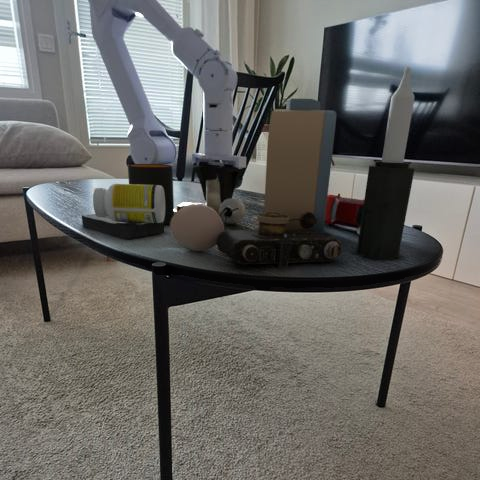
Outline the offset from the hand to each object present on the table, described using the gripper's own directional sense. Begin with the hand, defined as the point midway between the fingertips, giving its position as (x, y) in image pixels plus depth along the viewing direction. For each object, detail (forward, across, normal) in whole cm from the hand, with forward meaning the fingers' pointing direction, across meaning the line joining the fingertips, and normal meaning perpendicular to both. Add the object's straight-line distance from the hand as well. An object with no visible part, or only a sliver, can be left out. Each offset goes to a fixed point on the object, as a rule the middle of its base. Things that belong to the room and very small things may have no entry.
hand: (217, 201), depth 88 cm
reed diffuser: (+3, +11, -8) cm, 14 cm away
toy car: (0, +23, +16) cm, 28 cm away
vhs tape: (+3, -1, -22) cm, 22 cm away
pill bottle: (-2, +8, -18) cm, 20 cm away
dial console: (+3, -1, -1) cm, 4 cm away
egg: (0, +24, -20) cm, 31 cm away
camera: (0, +27, -13) cm, 30 cm away
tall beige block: (+3, +21, +1) cm, 21 cm away
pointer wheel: (+1, 0, 0) cm, 1 cm away
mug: (+3, -5, -12) cm, 13 cm away
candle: (+3, +38, 0) cm, 38 cm away
